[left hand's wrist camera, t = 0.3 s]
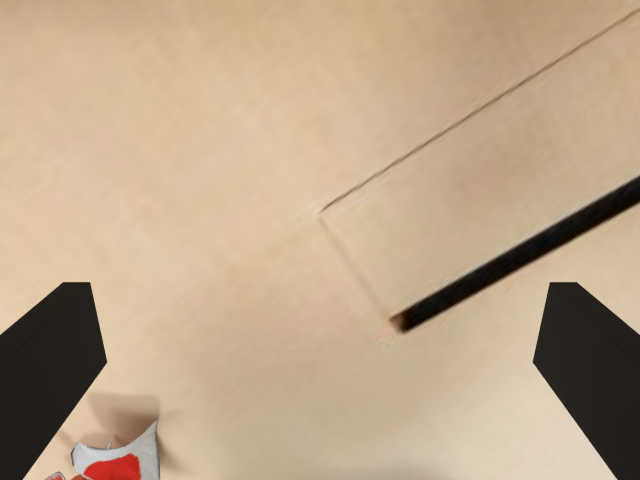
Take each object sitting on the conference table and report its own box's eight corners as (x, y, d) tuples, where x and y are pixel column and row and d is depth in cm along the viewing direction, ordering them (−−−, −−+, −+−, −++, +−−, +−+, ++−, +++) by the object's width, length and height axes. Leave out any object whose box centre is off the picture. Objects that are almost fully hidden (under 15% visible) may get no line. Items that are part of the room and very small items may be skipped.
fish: (-6, 467, 45) (-10, 558, 38) (127, 369, 49) (147, 436, 42) (66, 502, 52) (75, 586, 45) (179, 414, 56) (204, 478, 48)
